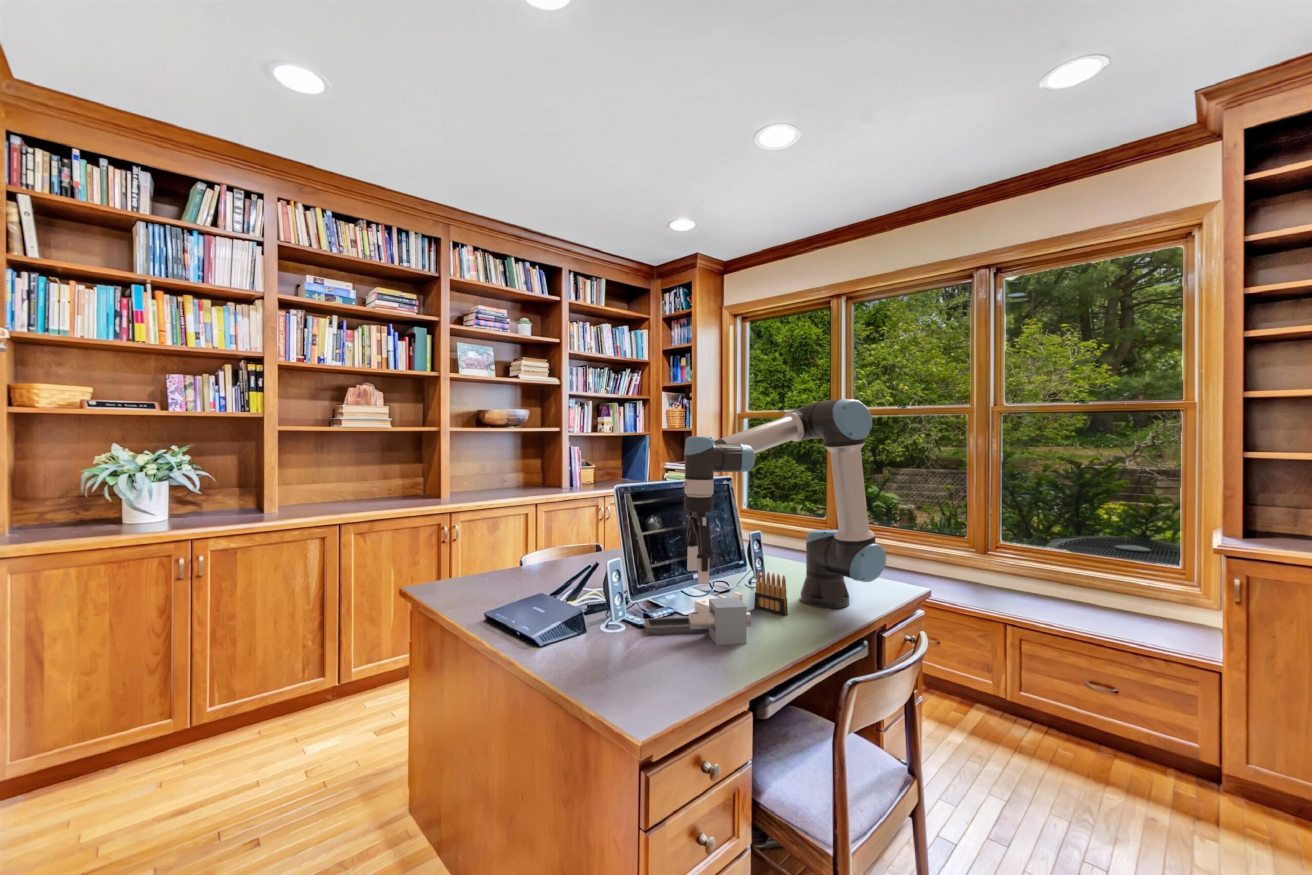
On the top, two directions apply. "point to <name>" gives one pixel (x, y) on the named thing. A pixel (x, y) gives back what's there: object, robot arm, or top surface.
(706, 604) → the bracket
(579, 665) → the top surface
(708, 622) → the axle
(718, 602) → the gray rectangular block
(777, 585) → the ammunition clip
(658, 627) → the dark brown shallow tray
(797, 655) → the top surface
